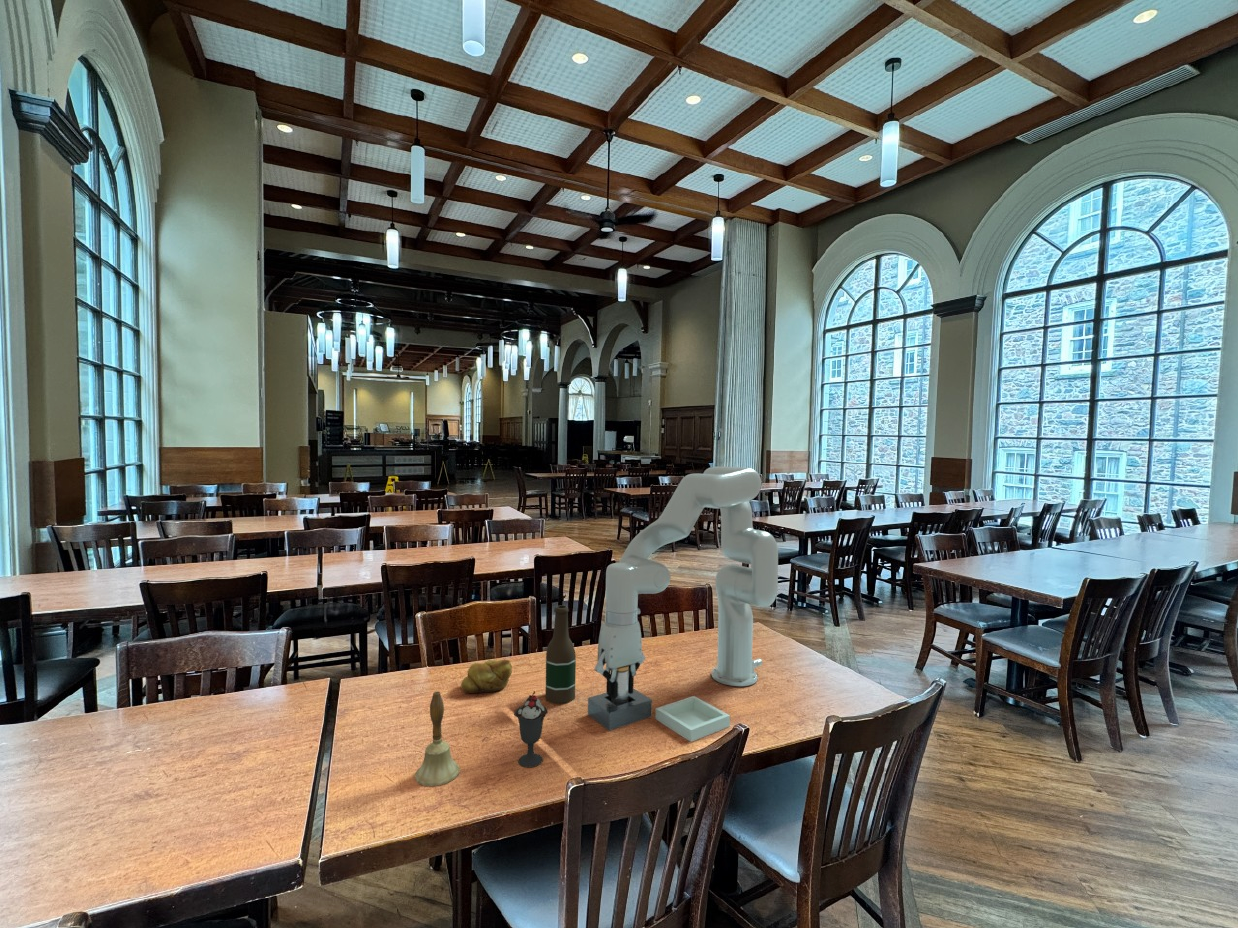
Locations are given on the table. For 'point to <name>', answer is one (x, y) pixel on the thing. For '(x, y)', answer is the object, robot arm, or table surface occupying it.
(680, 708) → the tray
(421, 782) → the hand bell
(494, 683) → the bread roll
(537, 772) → the table surface
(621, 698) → the pin
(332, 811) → the table surface
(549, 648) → the beer bottle
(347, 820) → the table surface
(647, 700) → the block
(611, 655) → the robot arm
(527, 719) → the sundae
